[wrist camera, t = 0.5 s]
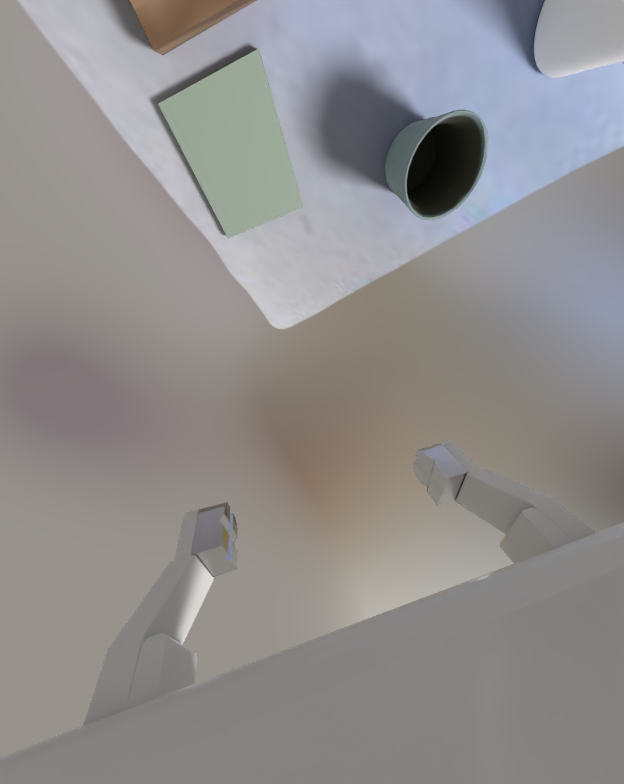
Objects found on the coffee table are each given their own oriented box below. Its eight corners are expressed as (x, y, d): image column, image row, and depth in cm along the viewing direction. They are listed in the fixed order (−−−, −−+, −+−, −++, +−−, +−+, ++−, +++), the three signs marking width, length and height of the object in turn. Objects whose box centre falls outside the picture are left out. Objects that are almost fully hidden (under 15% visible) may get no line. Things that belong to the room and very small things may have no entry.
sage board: (160, 104, 32) (157, 103, 31) (258, 50, 29) (258, 48, 29) (228, 236, 44) (227, 238, 43) (302, 205, 41) (302, 207, 40)
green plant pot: (413, 210, 43) (444, 232, 36) (366, 183, 40) (388, 200, 32) (458, 134, 37) (508, 140, 29) (405, 93, 33) (446, 87, 25)
